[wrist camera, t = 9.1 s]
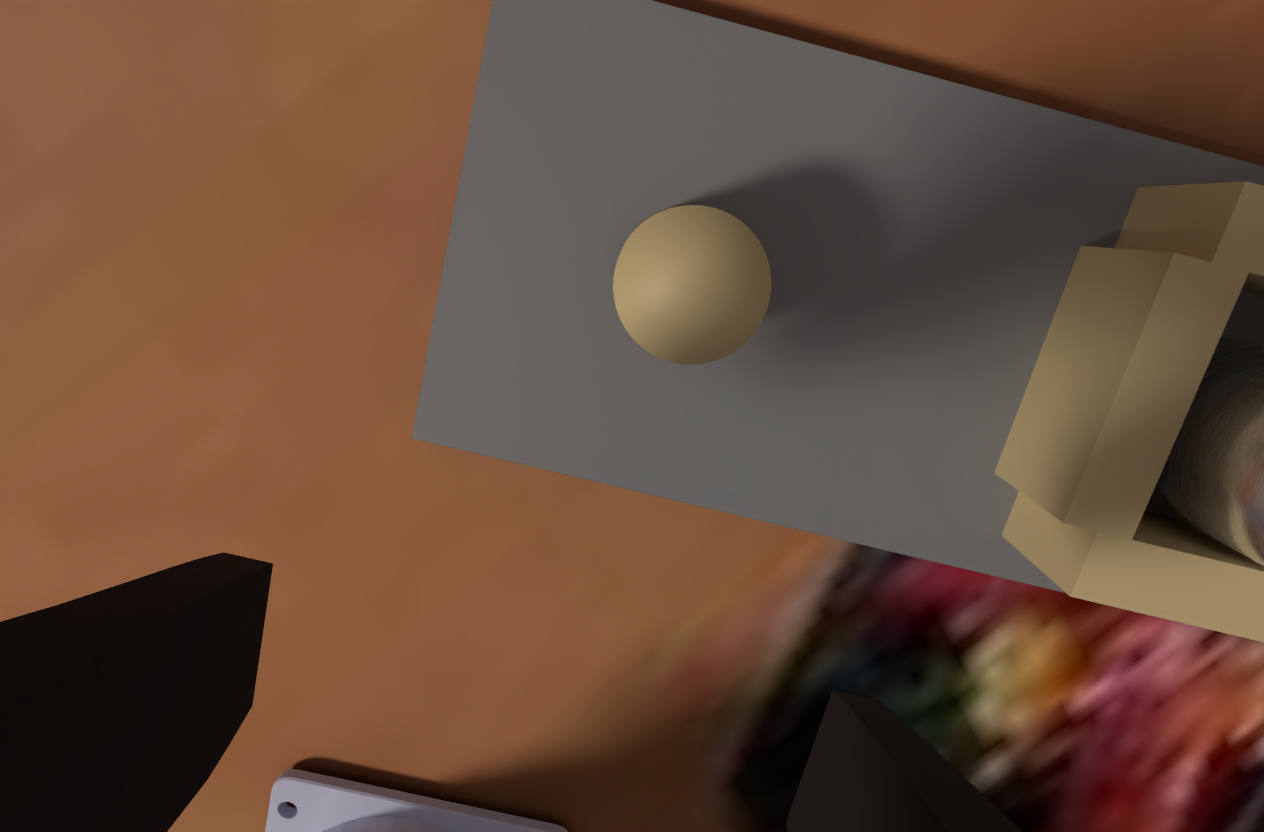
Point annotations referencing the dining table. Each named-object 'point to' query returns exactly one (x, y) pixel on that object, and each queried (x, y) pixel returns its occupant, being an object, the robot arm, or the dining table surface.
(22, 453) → the dining table surface
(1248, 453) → the cylinder
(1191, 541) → the board
